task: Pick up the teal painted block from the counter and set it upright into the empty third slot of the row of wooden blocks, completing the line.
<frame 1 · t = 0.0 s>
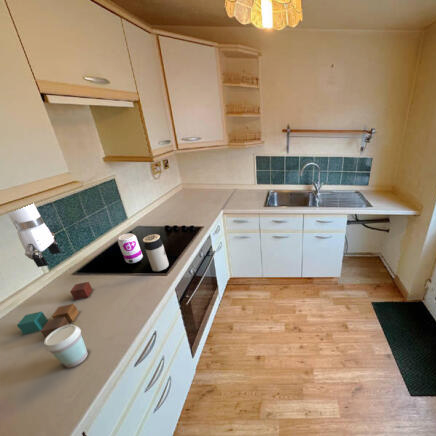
hand: (50, 259, 96), 19 cm above the counter, tool pointing down, fingers open, 9 cm apart
travel mug: (160, 267, 121), on the counter
teal block: (36, 327, 88), on the counter
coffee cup: (76, 359, 76), on the counter
walnut block: (59, 333, 86), on the counter
oak block: (68, 318, 91), on the counter
supplement can: (134, 259, 128), on the counter
dark cherry block: (84, 295, 103), on the counter
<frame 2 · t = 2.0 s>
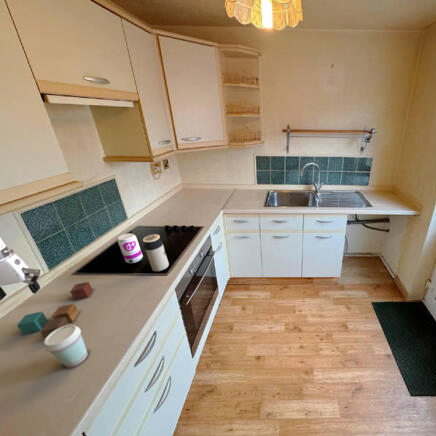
hand: (20, 294, 83), 15 cm above the counter, tool pointing down, fingers open, 9 cm apart
nothing on the counter moved.
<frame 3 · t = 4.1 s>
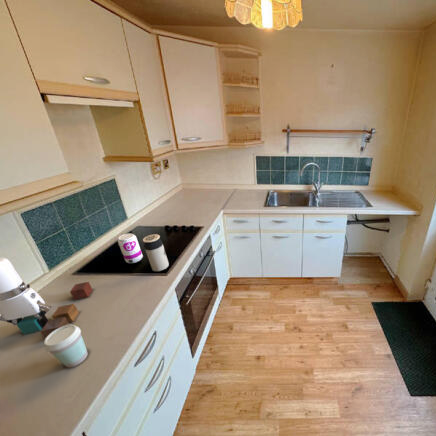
hand: (35, 326, 88), 0 cm above the counter, tool pointing down, fingers closed on teal block, 5 cm apart
teal block: (36, 327, 88), on the counter, touching gripper
everything else where it was.
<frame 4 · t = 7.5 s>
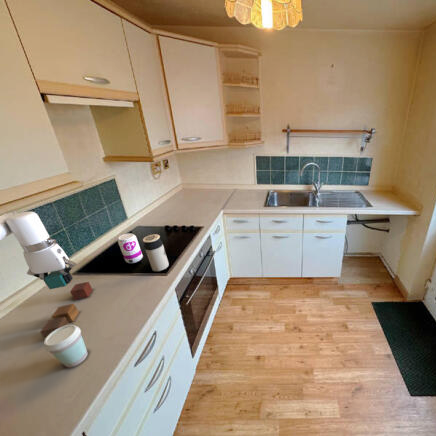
hand: (60, 282, 91), 13 cm above the counter, tool pointing down, fingers closed on teal block, 5 cm apart
teal block: (61, 283, 91), point 13 cm above the counter, touching gripper
everything else where it was.
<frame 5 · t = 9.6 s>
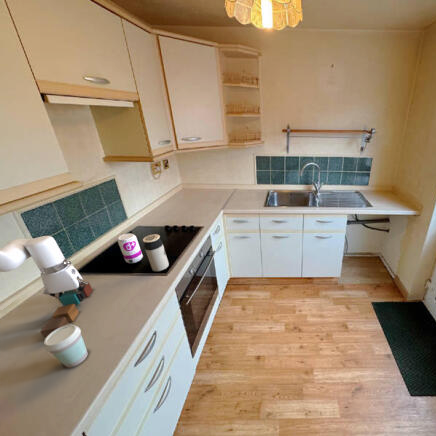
hand: (74, 300, 96), 3 cm above the counter, tool pointing down, fingers closed on teal block, 5 cm apart
teal block: (74, 301, 96), point 3 cm above the counter, touching gripper
everything else where it was.
when the fingers open (0 cm above the counter, at t = 10.8 s): teal block stays where it is, on the counter.
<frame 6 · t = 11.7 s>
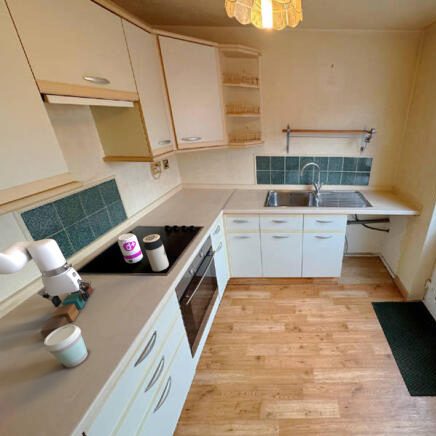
hand: (73, 301, 96), 3 cm above the counter, tool pointing down, fingers open, 9 cm apart
teal block: (77, 306, 97), on the counter
everything else where it was.
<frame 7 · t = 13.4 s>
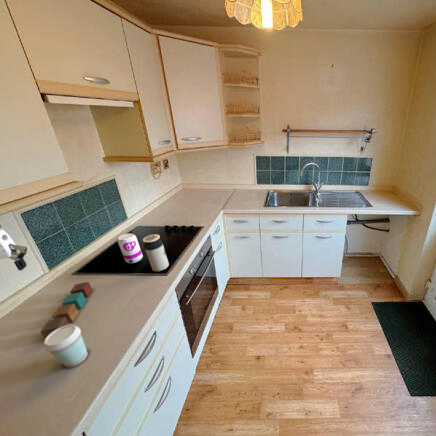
hand: (5, 270, 84), 23 cm above the counter, tool pointing down, fingers open, 9 cm apart
nothing on the counter moved.
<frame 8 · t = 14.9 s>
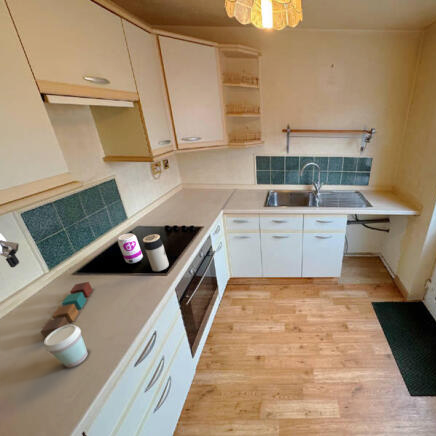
nothing on the counter moved.
at the end: teal block 0.1 cm from the target spot, on the counter; teal block tilted 0°; dark cherry block moved 0.0 cm from its start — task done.
